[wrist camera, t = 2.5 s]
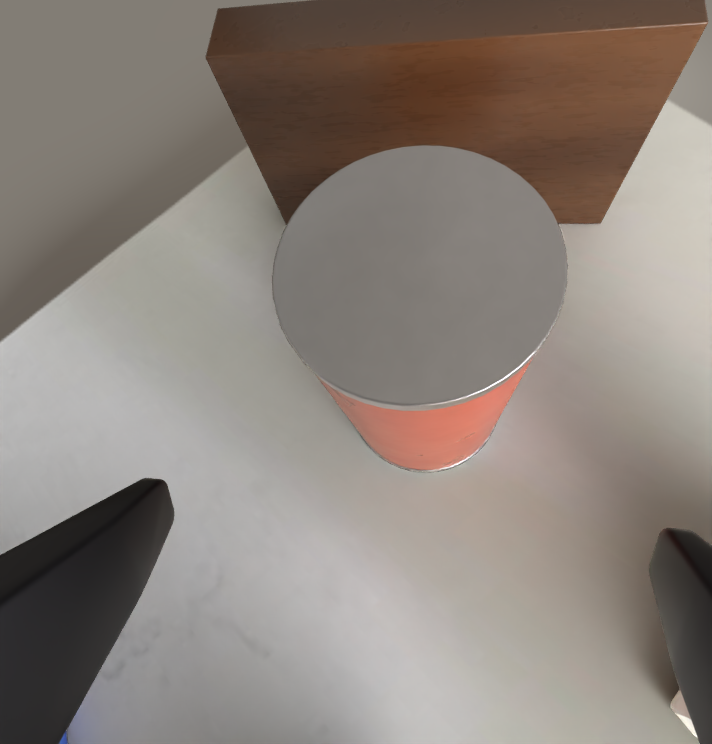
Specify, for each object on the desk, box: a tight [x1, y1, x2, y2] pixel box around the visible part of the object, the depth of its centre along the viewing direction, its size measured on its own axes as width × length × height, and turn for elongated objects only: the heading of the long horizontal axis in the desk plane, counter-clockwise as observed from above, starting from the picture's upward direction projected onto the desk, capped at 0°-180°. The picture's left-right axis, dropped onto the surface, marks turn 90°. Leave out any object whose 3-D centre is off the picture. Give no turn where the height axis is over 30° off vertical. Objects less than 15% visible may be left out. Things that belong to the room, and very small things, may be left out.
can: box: [272, 145, 568, 472], centre depth 17 cm, size 7×7×12 cm
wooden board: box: [206, 0, 708, 225], centre depth 21 cm, size 2×16×10 cm, turn 84°
